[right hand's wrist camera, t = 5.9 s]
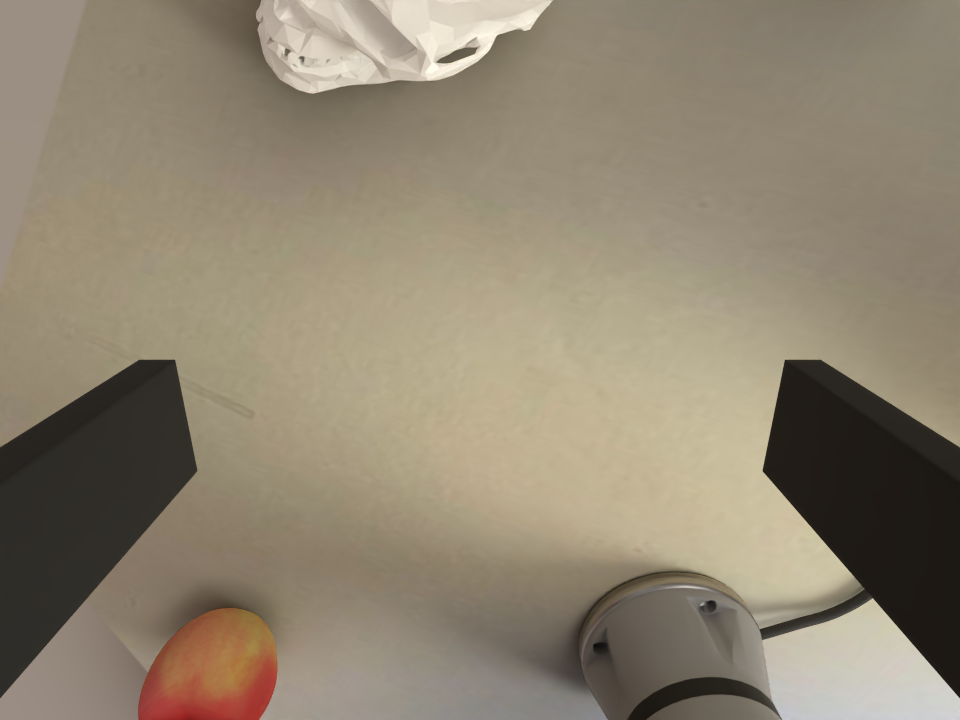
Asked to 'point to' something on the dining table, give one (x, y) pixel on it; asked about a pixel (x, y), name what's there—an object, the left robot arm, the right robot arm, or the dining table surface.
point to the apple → (213, 670)
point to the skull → (381, 38)
